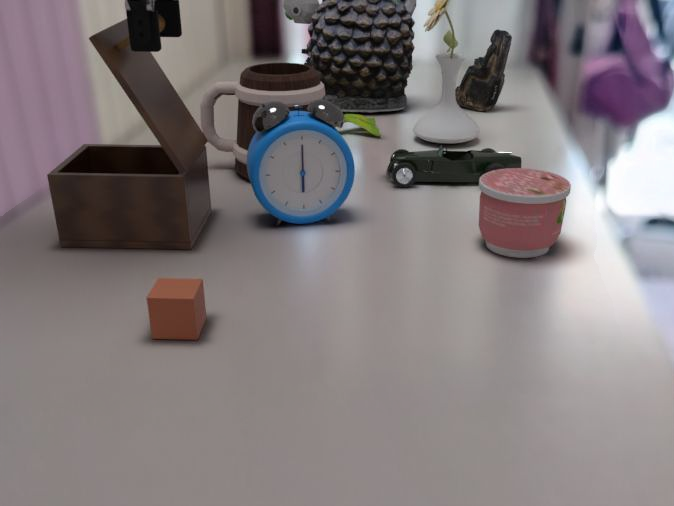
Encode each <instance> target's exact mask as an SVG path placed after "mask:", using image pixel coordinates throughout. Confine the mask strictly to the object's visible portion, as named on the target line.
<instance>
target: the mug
mask: <svg viewBox="0 0 674 506" xmlns="http://www.w3.org/2000/svg"><path fill="white" fill-rule="evenodd" d="M239 76H240V77H239V81H230V80H229V81H217V82H214V83H213V84H211V86H209V87H208V88H207V89H206V90H205V92H204V94H203V96H202V99H201V101H200V103H199V106H200V108H199V109H200V129H201V131H202V132H203V134H204V135H205V137H206V138H207V140H208V142H207V143H209V144H210V145H211V146H212V147H214V148H215V149H216V150H217V151H219V152H224V153H232V155H233V156H234V157H235V158H234V169H235V171H236V172H237V173H238V175H240V176H241V177H242V178H244V179H246V180H248V181H250V179H249V176H248V172H247V153H248V148H249V145H250V143H251V140H252V138H253V136H254V135H255V133H256V131H255V130H254V128H253V124H252V119H253V116H254V113H255V112H256V110H257V109H258V108H259V107H260V106H262V105H261V104H262V103H264V104H265V103H267V102H271V101H278V102H282V103H284V104H285V105H286V106H287V107H288V108H289V110H290V111H298V108H294V105H303V108H299V111H306V112H309V111H308V110H307V107H308V106H309V104H310V103H311V102H313V101H314V100H317V99H323V97H324V96H325V88H324V84H323V83H322V82H321V81H320V78H319V72H318V71H316V70H315V69H314V68H313V67H311V66H308V65H305V64H304V63H297V62H267V63H266V62H265V63H258V64H253V65H249V66H248V67H245V68H244V69H243V71H241V72H240V75H239ZM222 96H235V97H236V98H237V99H238V100H237V123H236V124H237V125H236V139H227V138H223V137H220V135H218V133H217V130H216V127H215V108H214V107H215V106H216V103H217V100H219V98H221V97H222Z"/></svg>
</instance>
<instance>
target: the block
mask: <svg viewBox="0 0 674 506" xmlns="http://www.w3.org/2000/svg"><path fill="white" fill-rule="evenodd" d="M205 297H206V296H205V288H204V279H203V278H177V277H175V278H173V277H158V278H157V279H156V281H155V283H154V284H153V286H152V288H151V289H150V291H149V293H148V295H147V296H146V304H147V311H148V319H149V327H150V335H151V339H153V340H186V341H187V340H189V341H190V340H191V341H198V340H199V337H200V335H201V332H202V330H203V329H204V325H205V323H206V321H207V309H206V298H205Z"/></svg>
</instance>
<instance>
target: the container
mask: <svg viewBox="0 0 674 506" xmlns="http://www.w3.org/2000/svg"><path fill="white" fill-rule="evenodd" d="M478 188H479V191H480V195H479V207H478V228H479V231H480V234H481V238H482V239H483V240H484V241H485V247H486V248H487V249H488V250H490V251H491V252H492V253H495V254H498V255H501V256H504V257H510V258H518V259H528V258H536V257H541V256H543V255H546V254H547V253H548V252H549V251H550V247H552V246H553V245H554V244H555V243H556V241H557V239H558V238H559V236H560V235H561V232H562V228H563V223H564V217H565V211H566V207H567V197H568V196H569V195H570V194H571V190H572V189H571V188H572V184H571V182H570V181H569V180H568V179H567V178H565V177H564V176H561V175H560V174H557V173H554V172H550V171H547V170H542V169H536V168H525V167H521V168H506V169H498V170H493V171H490V172H487V173H485V174H483V175H482V176H481V177H480V179H479V182H478Z"/></svg>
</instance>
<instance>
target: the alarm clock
mask: <svg viewBox="0 0 674 506" xmlns="http://www.w3.org/2000/svg"><path fill="white" fill-rule="evenodd" d="M261 105H262V106H260V107H259V108H258V109H257V110H256V112H255V113H254V116H253V119H252V124H253V128H254V130H255V131H256V133H255V135H254V136H253V138H252V140H251V143H250V145H249V148H248V153H247V172H248V176H249V179H250V180H249V182H250V184H251V188H252V192H253V193H254V196H255V198H256V199H257V201H258V203H259V204H260V206H261V207H262V208H263V209H264V210H265V211H266V212H267V213H268V214H270V215H272V216H273V217H275V218H276V219H277V222H276V226H279V225H280V224H281V223H282V221H283V222H286V223H288V224H289V223H290V224H298V225H307V224H312V223H316V222H319V221H321V220H324V219H326V220H327V221H328V222H329V223H330V222H332V220H331V217H330V216H331V215H333V214H334V213H335V212H337V211H338V209H340V207H342V205H343V204H344V203H345V202H346V200H347V199H348V197H349V195H350V193H351V191H352V188H353V185H354V181H355V172H356V169H355V168H356V167H355V159H354V156H353V153H352V150H351V148H350V146H349V144H348V142H347V141H346V140H345V138H344V137H343V136H342V134H340V132H339V131H338V129H337V128H339V129H342V128H343V127H344V124H345V123H344V115H345V114H344V112H342V110H341V109H340V108H339V106H337V105H336V104H334V100H332V101H329V100H326V99H317V100H314V101H313V102H311V103H310V104H309V106H308V107H307V110H308V111H309V112H306V111H299V108H303V105H294V108H298V111H290V110H289V108H288V107H287V106H286V105H285V104H284V103H282V102H278V101H271V102H267V103H265V104H264V103H262V104H261ZM334 126H336V127H334Z"/></svg>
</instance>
